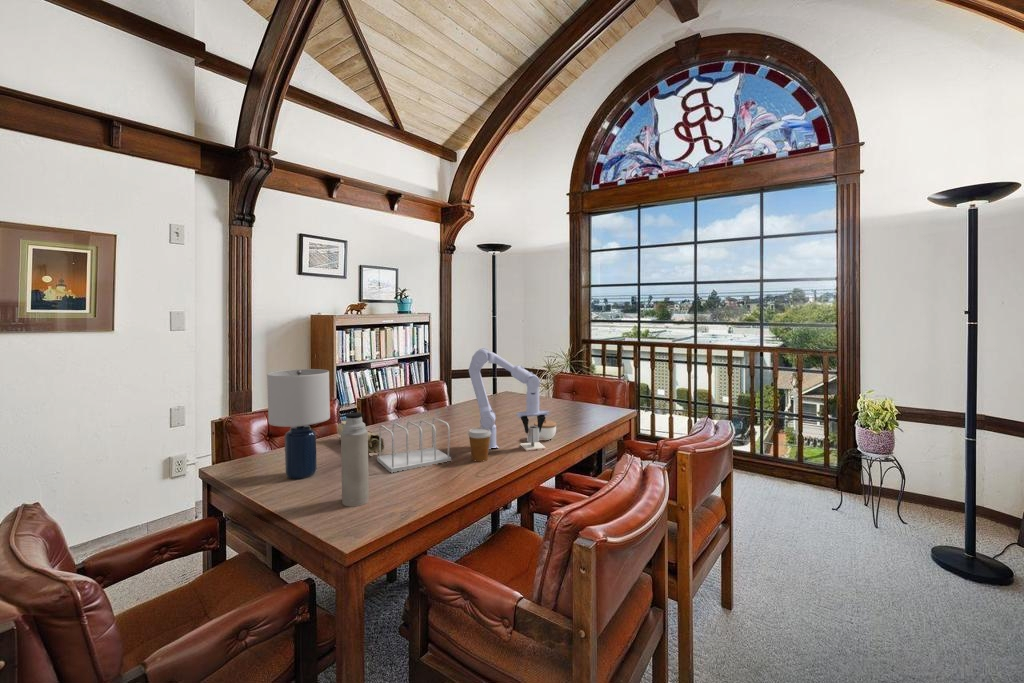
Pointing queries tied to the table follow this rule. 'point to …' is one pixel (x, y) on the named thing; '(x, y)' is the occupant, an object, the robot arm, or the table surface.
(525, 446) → the white peg stand
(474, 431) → the disposable coffee cup
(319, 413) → the lamp
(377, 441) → the scroll
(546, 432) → the lidded jar
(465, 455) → the table surface
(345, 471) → the thermos bottle
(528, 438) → the collar
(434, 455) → the file sorter
